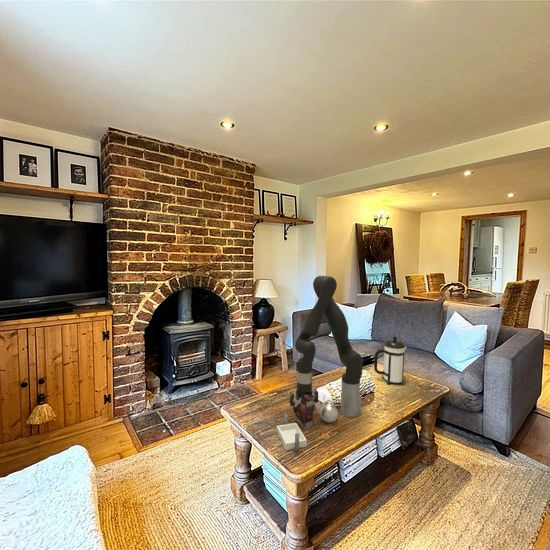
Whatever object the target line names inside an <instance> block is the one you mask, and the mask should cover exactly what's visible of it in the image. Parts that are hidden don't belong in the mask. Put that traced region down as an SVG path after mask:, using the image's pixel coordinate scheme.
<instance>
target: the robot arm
mask: <svg viewBox="0 0 550 550" xmlns="http://www.w3.org/2000/svg"><path fill="white" fill-rule="evenodd" d="M337 285H338V284H337V280H336V279H335V278H334V277H333V276H329V275H317V276H316V277H315V278H314V279H313V283H312V287H313V288H312V289H313V291H314V293H315V294H316V296H317V301H316V303H315V304H314V306H313V308H312V309H311V311H310V312H309V314H308V315H307V317H306V320H305V324H304V326H303V329H302V331H301V332H300V334H299V335H298V337H297V338H296V341H295V345H294V346H295V347H294V348H295V350H296V351H297V352H298V353H300V354H302V357H300V358H299V359H298V360H297V367H296V369H297V373H296V390H297V391H296V390H295V392H293V391H291V392H290V393H289V402H288V403H289V405H290V406H291V407H292V411H293V413H294V414H297V405H298V404H299V403H300V402H301V400H302V396H301V394H305V393H310V394H312V395H313V411H315V405H316V404H318V403H319V392H318V390H317V389H316V388H315V389H313V363H314V359H315V355H316V351H317V350H316V345H315V343H314V342H312V341H310V339H311V338H313V337H316V336H317V335H318V333H319V330H320V326H321V323H322V321H323V318H324V316H325V318H326V322H327V325H328V327H329V330H330V332H331V335H332V337H333V340H334V342H335V346H336V349H337V353H338V357H339V360H340V362H341V364H342V365H344V366H345V372H344V373H343V374H342V375H341V388H340V389H341V392H340V394H341V395H340V397H341V398H340V413H341V414H342V415H343V416H346V417H347V418H348V417H349V418H355V417H358V416H359V415H361V411H362V410H361V409H362V396H361V395H360V391H361V379H362V376H363V366H364V363H363V361H364V360H363V356H362V355H361V354H360V353H359V352H357V351H355V350H354V348H353V347H352V345H351V343H350V339H349V323H348V322H347V319H346V316H345V314H344V312H343V311H342V309H341V308H340V306H339V305H338V304H337V302H336V301H335V300H334V298H333V297H334V295H335V293H336V291H337ZM296 396H297V397H296ZM298 399H299V400H298Z"/></svg>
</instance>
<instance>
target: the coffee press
mask: <svg viewBox="0 0 550 550" xmlns="http://www.w3.org/2000/svg"><path fill="white" fill-rule="evenodd" d="M383 346H384V349H378V350H377V351H375V353H374V357H373V358H374V359H373V370H374V372H375V373H376V374H379V375H382V376H381V378H382V379H384V380H386V385H388V386H390V384H391V383H394V384H395V383H397V384H399V383H400V384H401V385H402V386H404V385H406V383H405V380H404V373H405V372H404V371H405V369H404V368H405V354H406V350H407V346H406V344H405V342H404V341H402V340H400V339H398V338H397V336H396V335H395V336H393V337H392V338H389V339H386V340H385V341H384V343H383ZM405 349H406V350H405ZM382 353H384V354H383V371H382V370H379V369H378V356H379V355H380V354H382ZM403 384H404V385H403Z"/></svg>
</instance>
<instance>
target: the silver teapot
mask: <svg viewBox="0 0 550 550" xmlns="http://www.w3.org/2000/svg"><path fill="white" fill-rule="evenodd" d="M319 415H320V417H321V419H322V420H323V421H324V422H325V423H333V422H335V421H337V419H338V416H339V410H338V407H336V404H335V402H333V401H332V400H330V399H327V400H325V401H324V402H323V403H322V405H321V407H320V411H319Z"/></svg>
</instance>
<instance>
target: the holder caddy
mask: <svg viewBox="0 0 550 550" xmlns="http://www.w3.org/2000/svg"><path fill="white" fill-rule="evenodd" d="M288 421H289V414H288V413H284V415H283V424H280V425H276V433H277V435H278V438H279V440H280V442H281V444H282V446H283V449H284V450H285V451H290V450H294V451H295V452H299V451H300V449H302V448H307V447H308V445H307V444H308V440H307V438H306V437H305V435H304V433H303V432H302V430H301V429H300V427H299V425H298V424H297V423H298V422H292V423H289V422H288Z"/></svg>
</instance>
